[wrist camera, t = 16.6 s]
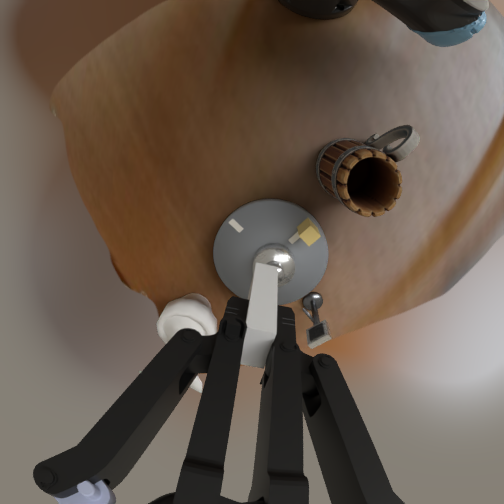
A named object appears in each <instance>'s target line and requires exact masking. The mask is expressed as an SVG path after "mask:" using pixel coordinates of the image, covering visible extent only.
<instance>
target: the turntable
mask: <svg viewBox="0 0 504 504" xmlns="http://www.w3.org/2000/svg"><path fill="white" fill-rule="evenodd" d="M267 243H280V244H283V245H285V246H287V247H288V248H289V249H290V250H291V252H292V253H293V256H294V262H295V274H294V276H293V278H292V280H291V281H290V282H289V283H287V284H286V285H284V286H281V287H278V293H277V305H283V304H287V303H291V302H293V301H296V300H298V299H300V298H302V297H304V296H305V295H307V294H308V293H309V292H310V291H312V290H313V289H314V288H315V287H316V285H317V284H318V283H319V282H320V280H321V279H322V277H323V275H324V273H325V270H326V267H327V262H328V245H327V241H326V238H325V236H324V233H323V231H322V228H321V227H320V225H319V223H318V222H317V221H316V219H315V218H314V217H313V216H312V215H311V214H310V213H309V212H308V211H306V210H305V209H304V208H302V207H301V206H299V205H297V204H295V203H292V202H289V201H286V200H282V199H273V198H270V199H260V200H255V201H252V202H249V203H247V204H244V205H242V206H241V207H239V208H237V209H236V210H235V211H234V212H232V213H231V214H230V215H229V216H228V217H227V219H226V220H225V221H224V223H223V224H222V226H221V227H220V229H219V231H218V233H217V236H216V239H215V242H214V248H213V258H214V264H215V267H216V270H217V273H218V275H219V277H220V278H221V280H222V281H223V283H224V284H225V285H226V286H227V287H228V288H229V289H230V290H231V291H232V292H233V293H234V294H236V295H237V296H239V297H241V298H243V299H247V300H248V294H249V290H250V286H251V282H252V277H253V271H252V266H253V260H254V256H255V253H256V251H257V250H258V249H259V248H260V247H261V246H263V245H265V244H267Z"/></svg>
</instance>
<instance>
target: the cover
mask: <svg viewBox="0 0 504 504" xmlns="http://www.w3.org/2000/svg"><path fill="white" fill-rule="evenodd" d="M256 262H257V263H261V264H266V265H271V266H275V267H278V287H281V286H284V285H286V284H287V283H289V282H290V281H291V280H292V278H293V276H294V274H295V262H294V256H293V253H292V252H291V250H290V249H289V248H288V247H287V246H285V245H283V244H280V243H267V244H265V245H263V246H261V247H260V248H259V249H258V250H257V251H256V253H255V256H254V260H253V266H252V271H253V273H254V269H255V265H256Z"/></svg>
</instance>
